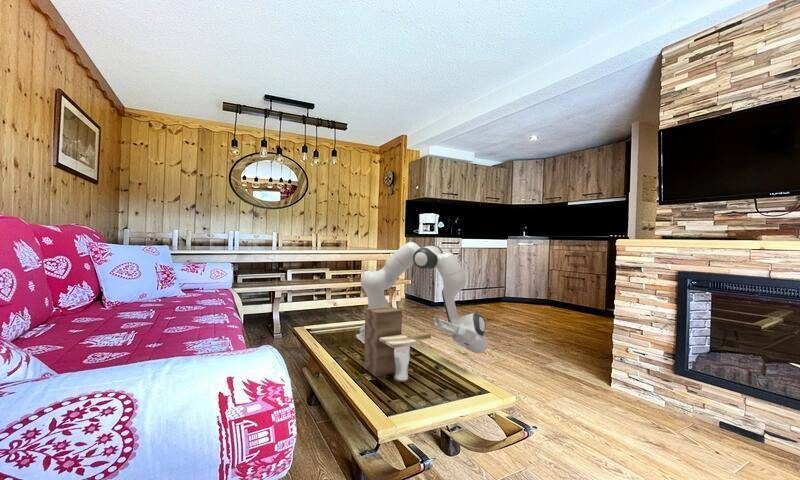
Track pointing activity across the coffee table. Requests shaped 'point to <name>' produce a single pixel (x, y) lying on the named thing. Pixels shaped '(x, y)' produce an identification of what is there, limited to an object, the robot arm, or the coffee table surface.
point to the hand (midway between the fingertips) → (441, 321)
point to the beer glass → (401, 363)
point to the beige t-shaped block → (403, 339)
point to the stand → (377, 326)
